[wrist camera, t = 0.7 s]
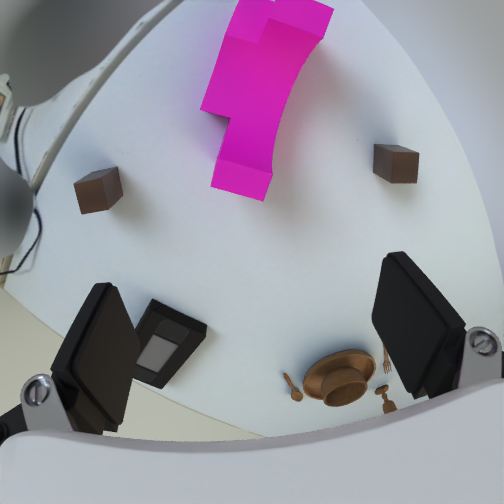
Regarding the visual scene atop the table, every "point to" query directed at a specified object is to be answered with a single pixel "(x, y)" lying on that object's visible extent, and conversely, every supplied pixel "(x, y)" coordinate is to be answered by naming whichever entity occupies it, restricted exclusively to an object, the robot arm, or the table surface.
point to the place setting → (342, 379)
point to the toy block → (259, 85)
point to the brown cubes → (109, 192)
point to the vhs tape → (165, 343)
